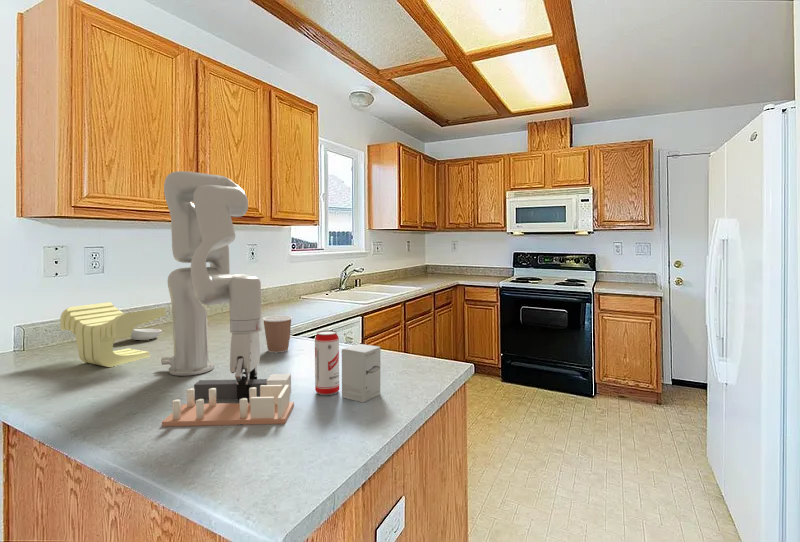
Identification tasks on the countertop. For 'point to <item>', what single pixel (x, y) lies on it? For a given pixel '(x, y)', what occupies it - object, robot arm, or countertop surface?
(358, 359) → the supplement box
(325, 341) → the beer can
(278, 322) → the coffee cup
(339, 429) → the countertop surface
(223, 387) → the grey post with base
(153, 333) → the spoon rest
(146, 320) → the slatted curved stool
